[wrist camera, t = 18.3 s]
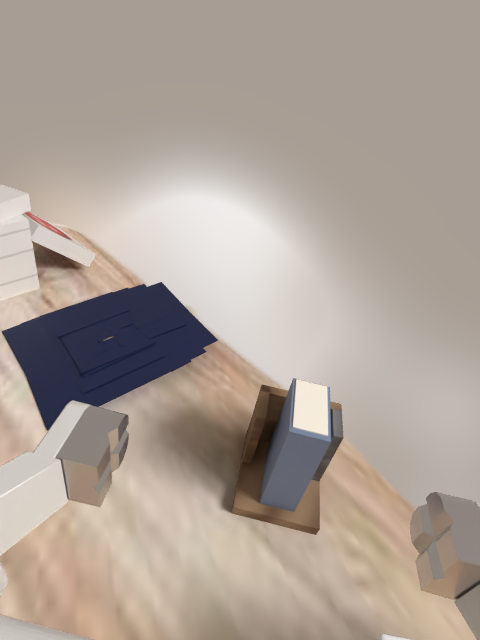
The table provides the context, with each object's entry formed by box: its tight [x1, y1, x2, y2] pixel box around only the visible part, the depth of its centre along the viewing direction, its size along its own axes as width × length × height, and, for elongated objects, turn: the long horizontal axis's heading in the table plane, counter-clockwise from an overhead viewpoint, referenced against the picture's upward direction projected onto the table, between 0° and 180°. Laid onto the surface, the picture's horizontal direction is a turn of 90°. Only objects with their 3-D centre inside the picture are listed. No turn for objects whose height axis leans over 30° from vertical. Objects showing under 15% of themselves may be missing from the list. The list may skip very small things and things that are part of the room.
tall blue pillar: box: [260, 378, 331, 512], centre depth 48 cm, size 4×8×15 cm, turn 170°
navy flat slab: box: [2, 282, 218, 430], centre depth 69 cm, size 24×30×4 cm
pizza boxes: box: [0, 184, 96, 301], centre depth 75 cm, size 19×30×18 cm, turn 139°
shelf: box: [232, 385, 343, 535], centre depth 51 cm, size 11×12×12 cm
